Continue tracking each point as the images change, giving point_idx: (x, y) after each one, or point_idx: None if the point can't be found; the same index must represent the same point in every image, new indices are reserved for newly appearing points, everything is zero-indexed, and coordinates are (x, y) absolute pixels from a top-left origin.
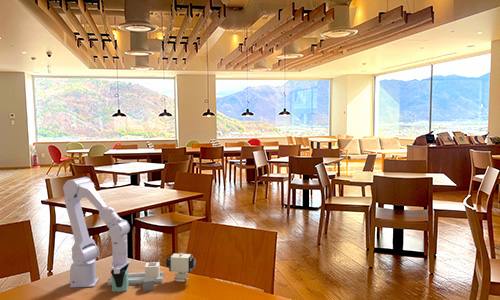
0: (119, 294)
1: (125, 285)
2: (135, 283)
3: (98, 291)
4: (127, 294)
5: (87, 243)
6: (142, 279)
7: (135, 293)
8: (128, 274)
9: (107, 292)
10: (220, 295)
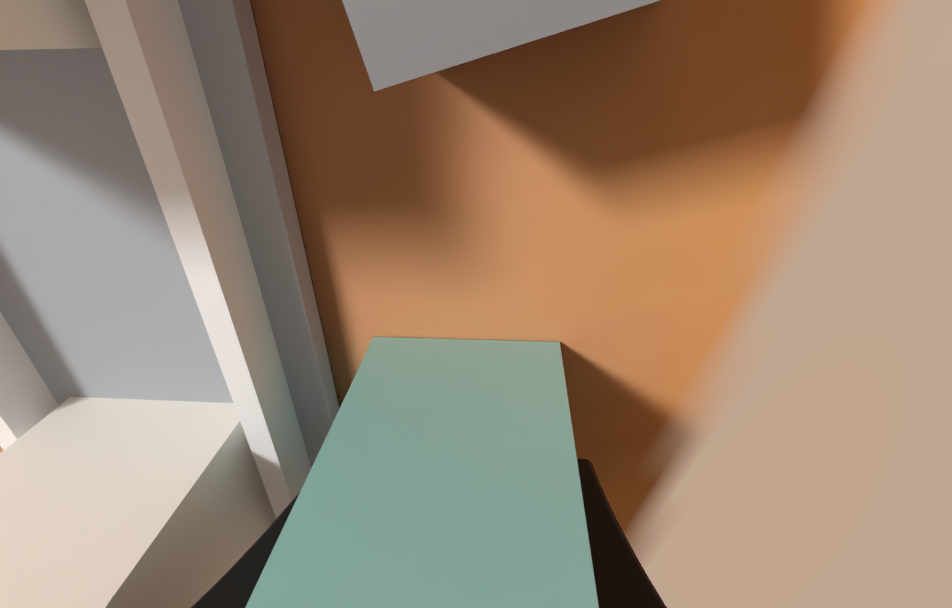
0: (661, 416)
1: (570, 426)
2: (291, 247)
3: None
4: (703, 314)
5: None
6: (403, 81)
7: (708, 182)
8: (15, 410)
9: None
10: None
